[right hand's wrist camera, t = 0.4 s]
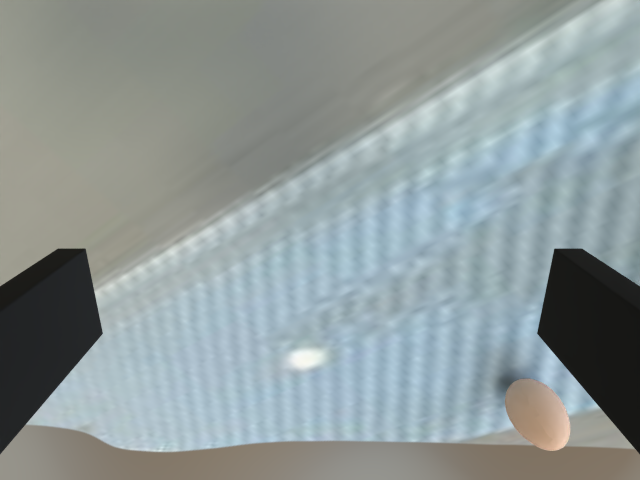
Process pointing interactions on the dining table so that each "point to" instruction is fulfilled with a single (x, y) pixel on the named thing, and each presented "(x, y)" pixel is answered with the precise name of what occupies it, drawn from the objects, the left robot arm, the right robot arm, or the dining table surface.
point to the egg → (537, 414)
